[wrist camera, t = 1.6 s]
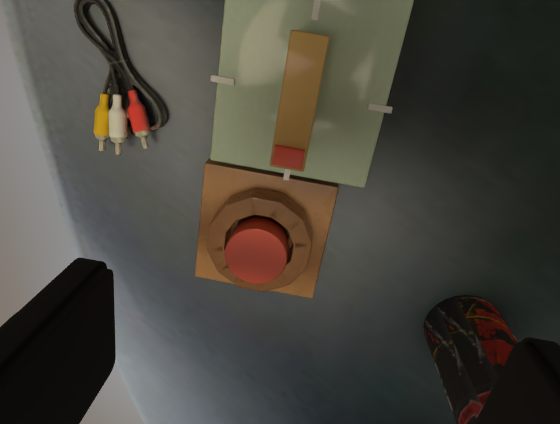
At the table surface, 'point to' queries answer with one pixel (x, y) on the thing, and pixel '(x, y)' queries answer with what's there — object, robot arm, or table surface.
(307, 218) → the button block
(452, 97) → the table surface
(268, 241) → the button
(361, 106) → the green lever base
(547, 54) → the table surface
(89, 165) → the table surface
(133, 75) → the composite cable
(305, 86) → the lock lever
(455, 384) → the deodorant
